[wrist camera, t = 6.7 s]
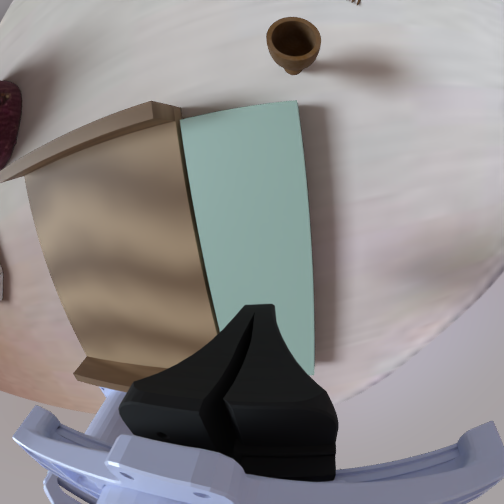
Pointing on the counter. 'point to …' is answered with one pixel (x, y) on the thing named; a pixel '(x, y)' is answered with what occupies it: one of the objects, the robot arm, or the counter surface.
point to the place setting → (294, 43)
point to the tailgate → (255, 216)
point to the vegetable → (9, 119)
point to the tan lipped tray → (122, 242)
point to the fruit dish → (1, 283)
